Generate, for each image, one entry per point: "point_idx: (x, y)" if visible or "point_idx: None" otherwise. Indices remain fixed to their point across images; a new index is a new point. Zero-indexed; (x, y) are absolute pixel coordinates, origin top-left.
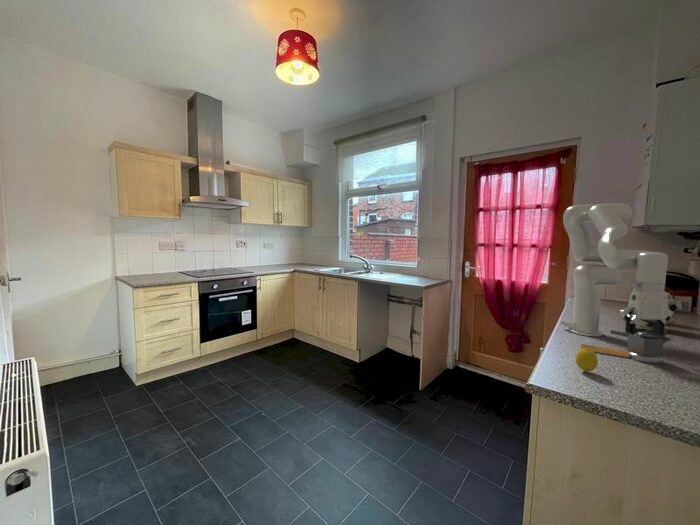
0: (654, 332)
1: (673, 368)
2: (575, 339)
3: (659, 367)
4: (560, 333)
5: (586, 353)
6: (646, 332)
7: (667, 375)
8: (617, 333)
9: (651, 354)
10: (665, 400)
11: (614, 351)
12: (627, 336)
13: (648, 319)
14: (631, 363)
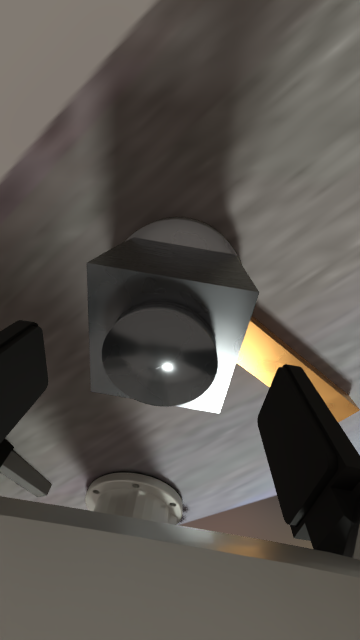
0: (46, 375)
1: (151, 154)
2: (236, 468)
3: (215, 176)
4: (228, 506)
5: None
6: (120, 382)
7: (311, 41)
8: (36, 478)
9: (188, 250)
10: None
11: (278, 344)
12: (20, 458)
13: (214, 535)
14: (305, 243)
